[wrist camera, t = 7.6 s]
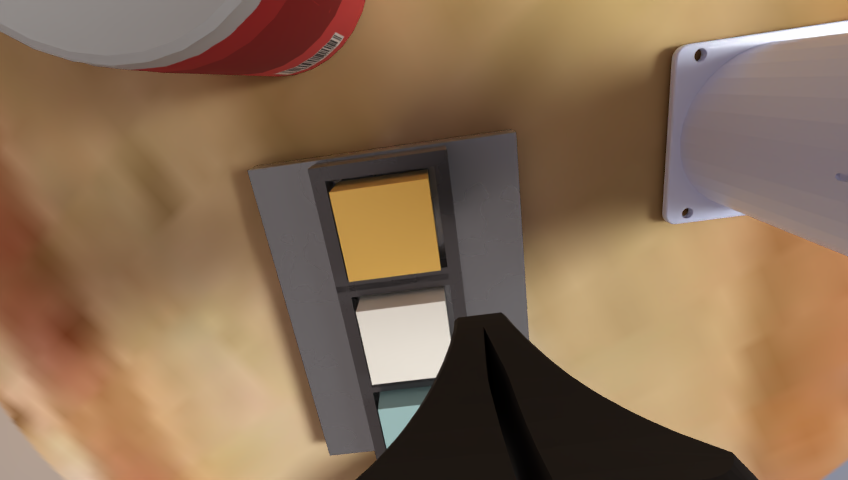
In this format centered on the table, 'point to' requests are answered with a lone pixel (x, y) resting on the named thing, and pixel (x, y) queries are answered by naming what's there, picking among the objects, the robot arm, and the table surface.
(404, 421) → the teal button
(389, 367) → the cream button
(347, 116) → the table surface
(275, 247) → the button panel
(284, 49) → the canned food
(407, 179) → the amber button
